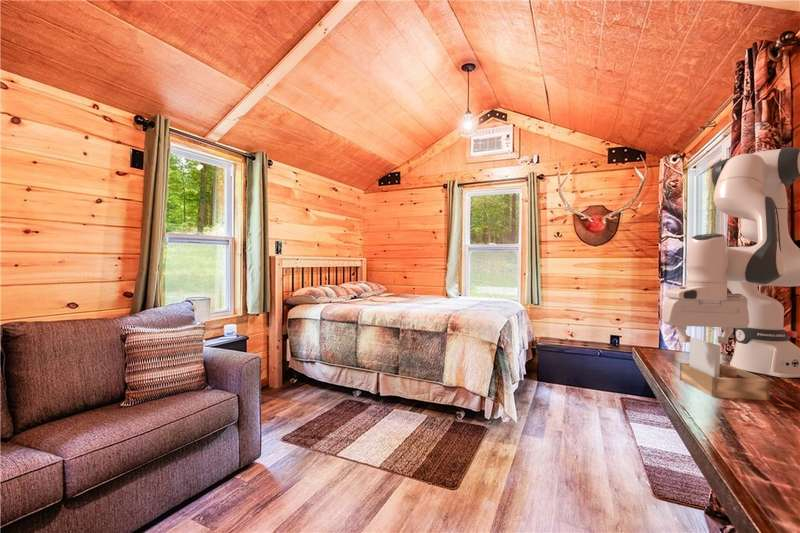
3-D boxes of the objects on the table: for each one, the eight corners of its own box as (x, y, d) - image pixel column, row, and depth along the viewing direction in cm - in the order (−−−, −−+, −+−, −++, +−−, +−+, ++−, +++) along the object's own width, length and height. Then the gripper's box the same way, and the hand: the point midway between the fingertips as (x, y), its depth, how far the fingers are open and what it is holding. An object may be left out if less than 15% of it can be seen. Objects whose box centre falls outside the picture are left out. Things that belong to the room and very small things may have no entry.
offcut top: (717, 370, 105) (717, 362, 105) (736, 378, 98) (737, 369, 98) (703, 370, 106) (703, 361, 106) (722, 378, 99) (722, 369, 99)
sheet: (693, 382, 107) (694, 337, 107) (718, 395, 98) (720, 345, 97) (688, 382, 108) (690, 337, 107) (713, 394, 98) (715, 345, 97)
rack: (727, 384, 108) (728, 364, 108) (769, 403, 94) (770, 380, 94) (679, 382, 110) (680, 362, 110) (713, 401, 96) (714, 378, 96)
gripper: (738, 292, 104) (736, 341, 104) (659, 290, 106) (658, 338, 106) (757, 294, 97) (755, 347, 98) (673, 292, 100) (671, 343, 100)
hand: (704, 342), depth 102 cm, fingers open, 8 cm apart
